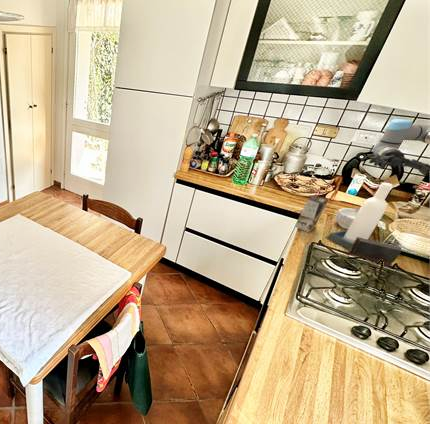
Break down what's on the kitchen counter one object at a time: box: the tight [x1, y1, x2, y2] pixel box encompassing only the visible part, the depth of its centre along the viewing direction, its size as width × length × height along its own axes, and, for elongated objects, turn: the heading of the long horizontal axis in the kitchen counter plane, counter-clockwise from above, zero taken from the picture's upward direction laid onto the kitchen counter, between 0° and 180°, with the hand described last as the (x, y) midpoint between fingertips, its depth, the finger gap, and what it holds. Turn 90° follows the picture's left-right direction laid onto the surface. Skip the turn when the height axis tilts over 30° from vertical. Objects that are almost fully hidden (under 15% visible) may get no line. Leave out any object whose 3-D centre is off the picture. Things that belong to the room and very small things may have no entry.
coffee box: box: [294, 195, 329, 233], centre depth 154 cm, size 9×6×16 cm
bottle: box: [343, 182, 394, 243], centre depth 137 cm, size 8×8×30 cm
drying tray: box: [327, 229, 375, 251], centre depth 144 cm, size 14×14×3 cm
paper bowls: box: [334, 207, 359, 230], centre depth 156 cm, size 15×15×8 cm
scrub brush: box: [347, 237, 402, 268], centre depth 132 cm, size 14×3×9 cm, turn 58°
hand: (405, 169), depth 132 cm, fingers open, 13 cm apart
